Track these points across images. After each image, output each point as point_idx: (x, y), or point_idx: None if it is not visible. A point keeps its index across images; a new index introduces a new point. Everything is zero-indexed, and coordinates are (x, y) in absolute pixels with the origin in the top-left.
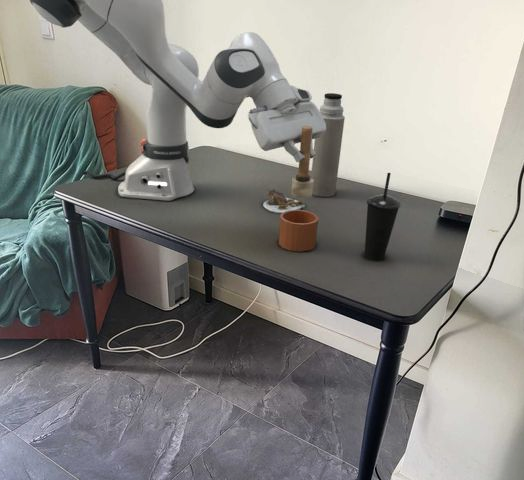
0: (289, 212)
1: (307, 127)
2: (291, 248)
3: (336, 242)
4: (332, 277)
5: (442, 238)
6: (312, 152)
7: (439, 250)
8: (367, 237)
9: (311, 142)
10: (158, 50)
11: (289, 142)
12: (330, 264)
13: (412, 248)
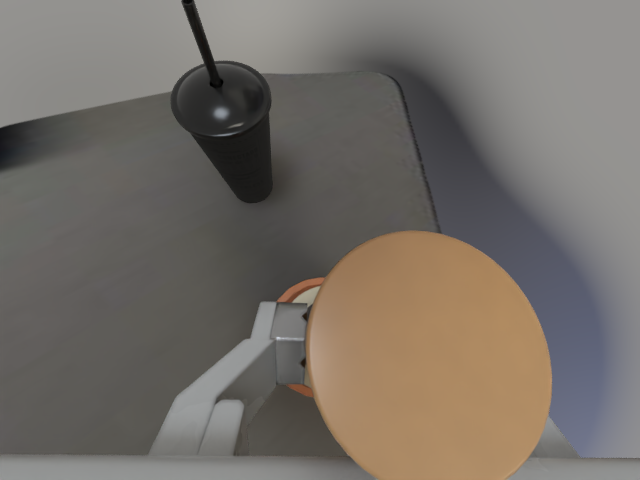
0: (309, 387)
1: (442, 329)
2: None
3: (246, 273)
4: (382, 193)
5: (78, 136)
6: (286, 310)
7: (143, 120)
8: (267, 171)
9: (218, 375)
10: None
11: (567, 441)
12: (344, 223)
13: (167, 154)
